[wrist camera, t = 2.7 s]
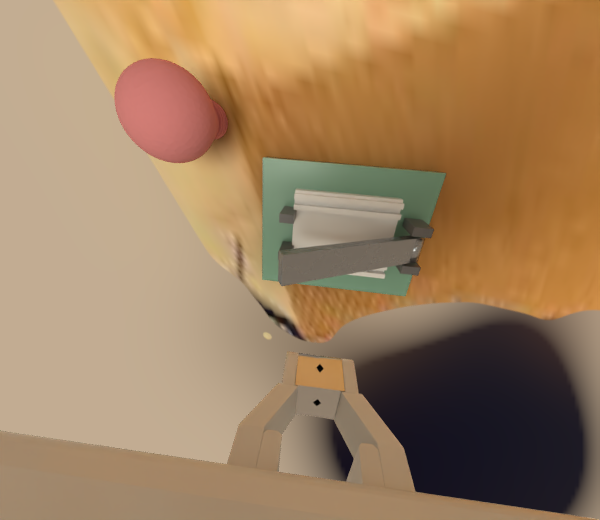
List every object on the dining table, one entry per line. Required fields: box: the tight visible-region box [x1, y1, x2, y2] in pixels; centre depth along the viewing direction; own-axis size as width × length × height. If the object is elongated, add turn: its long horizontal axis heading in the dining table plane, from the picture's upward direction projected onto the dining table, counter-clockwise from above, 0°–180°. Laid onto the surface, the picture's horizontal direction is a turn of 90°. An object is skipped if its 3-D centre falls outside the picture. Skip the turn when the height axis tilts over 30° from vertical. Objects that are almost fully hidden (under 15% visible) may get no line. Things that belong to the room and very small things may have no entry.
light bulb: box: [115, 58, 228, 163], centre depth 21 cm, size 7×7×12 cm
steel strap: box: [278, 235, 425, 286], centre depth 24 cm, size 17×3×2 cm, turn 86°
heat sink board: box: [262, 157, 446, 296], centre depth 29 cm, size 20×16×5 cm
